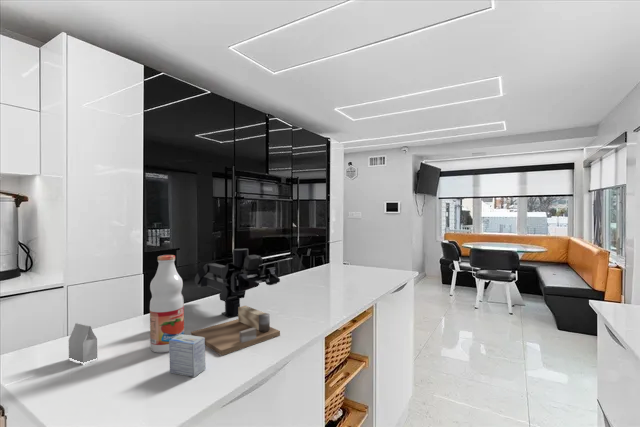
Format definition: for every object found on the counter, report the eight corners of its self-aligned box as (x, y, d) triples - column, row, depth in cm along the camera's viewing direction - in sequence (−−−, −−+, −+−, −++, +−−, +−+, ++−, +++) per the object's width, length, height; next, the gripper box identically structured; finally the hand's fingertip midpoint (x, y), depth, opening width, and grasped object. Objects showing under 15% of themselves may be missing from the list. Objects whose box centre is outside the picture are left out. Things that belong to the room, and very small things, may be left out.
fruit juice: (166, 339, 105) (165, 253, 105) (190, 342, 102) (189, 254, 102) (143, 351, 96) (141, 257, 96) (168, 355, 93) (167, 258, 93)
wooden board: (191, 336, 107) (190, 322, 107) (246, 320, 122) (245, 308, 122) (221, 355, 92) (221, 340, 92) (280, 335, 107) (279, 321, 107)
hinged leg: (271, 329, 107) (271, 314, 107) (262, 332, 104) (262, 317, 104) (246, 318, 118) (246, 305, 118) (237, 321, 116) (237, 307, 116)
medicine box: (206, 369, 84) (205, 336, 84) (194, 378, 80) (193, 343, 80) (181, 365, 86) (181, 333, 86) (169, 373, 82) (168, 339, 82)
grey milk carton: (83, 365, 87) (82, 328, 87) (68, 360, 90) (68, 325, 90) (97, 359, 91) (96, 324, 91) (83, 355, 93) (82, 321, 93)
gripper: (222, 257, 116) (245, 262, 105) (264, 252, 129) (289, 256, 118) (222, 288, 116) (245, 296, 105) (265, 280, 129) (289, 286, 118)
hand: (268, 282), depth 112 cm, fingers open, 9 cm apart
